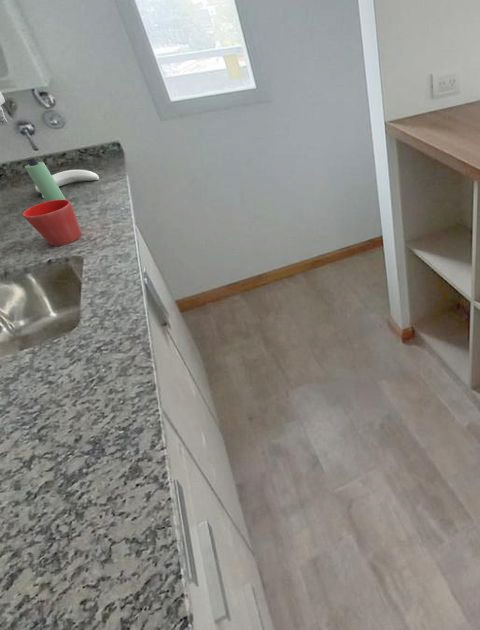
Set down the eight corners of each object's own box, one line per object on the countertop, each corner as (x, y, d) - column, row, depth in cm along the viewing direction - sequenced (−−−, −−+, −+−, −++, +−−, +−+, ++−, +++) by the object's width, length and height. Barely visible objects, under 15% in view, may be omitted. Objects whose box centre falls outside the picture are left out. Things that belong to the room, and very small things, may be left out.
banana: (101, 175, 168) (96, 188, 157) (45, 189, 163) (36, 203, 152) (93, 162, 165) (88, 174, 154) (36, 176, 160) (27, 189, 149)
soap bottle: (48, 207, 145) (19, 162, 136) (49, 202, 149) (21, 158, 140) (66, 203, 147) (39, 158, 138) (67, 198, 151) (40, 154, 142)
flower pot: (88, 240, 123) (68, 208, 117) (42, 252, 119) (19, 219, 113) (89, 227, 130) (70, 195, 124) (45, 238, 126) (24, 206, 120)
